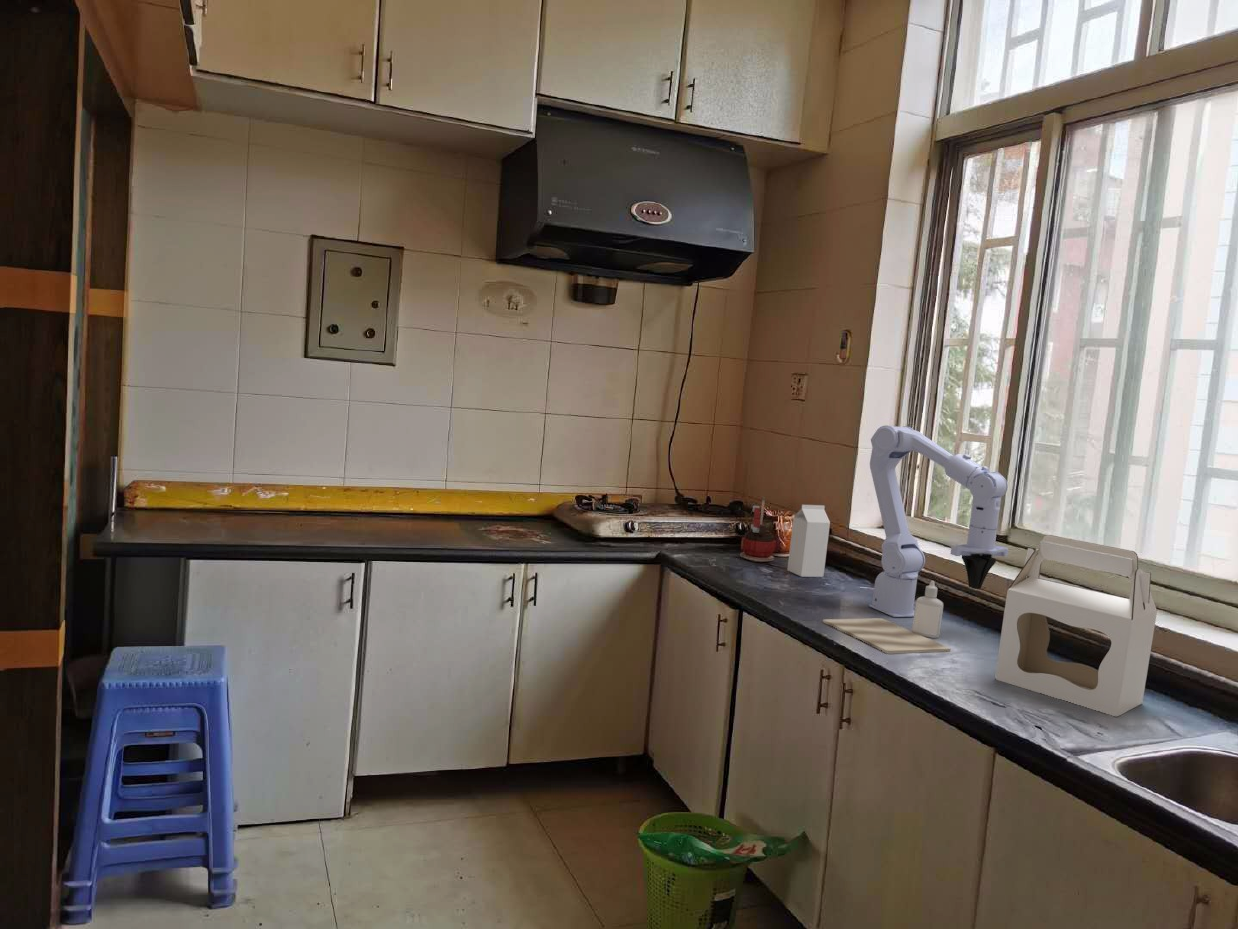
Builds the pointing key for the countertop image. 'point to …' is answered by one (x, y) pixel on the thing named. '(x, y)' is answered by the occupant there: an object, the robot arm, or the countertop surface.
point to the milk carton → (809, 541)
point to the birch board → (886, 635)
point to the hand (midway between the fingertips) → (974, 587)
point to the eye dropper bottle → (928, 613)
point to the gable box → (1078, 607)
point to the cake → (758, 539)
